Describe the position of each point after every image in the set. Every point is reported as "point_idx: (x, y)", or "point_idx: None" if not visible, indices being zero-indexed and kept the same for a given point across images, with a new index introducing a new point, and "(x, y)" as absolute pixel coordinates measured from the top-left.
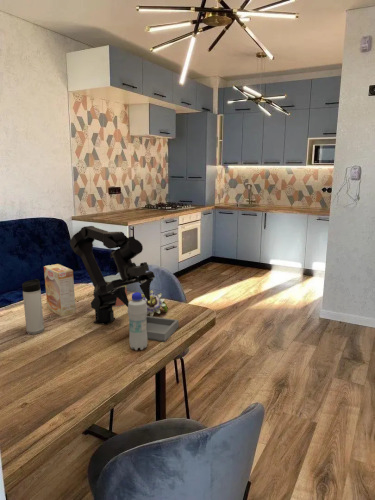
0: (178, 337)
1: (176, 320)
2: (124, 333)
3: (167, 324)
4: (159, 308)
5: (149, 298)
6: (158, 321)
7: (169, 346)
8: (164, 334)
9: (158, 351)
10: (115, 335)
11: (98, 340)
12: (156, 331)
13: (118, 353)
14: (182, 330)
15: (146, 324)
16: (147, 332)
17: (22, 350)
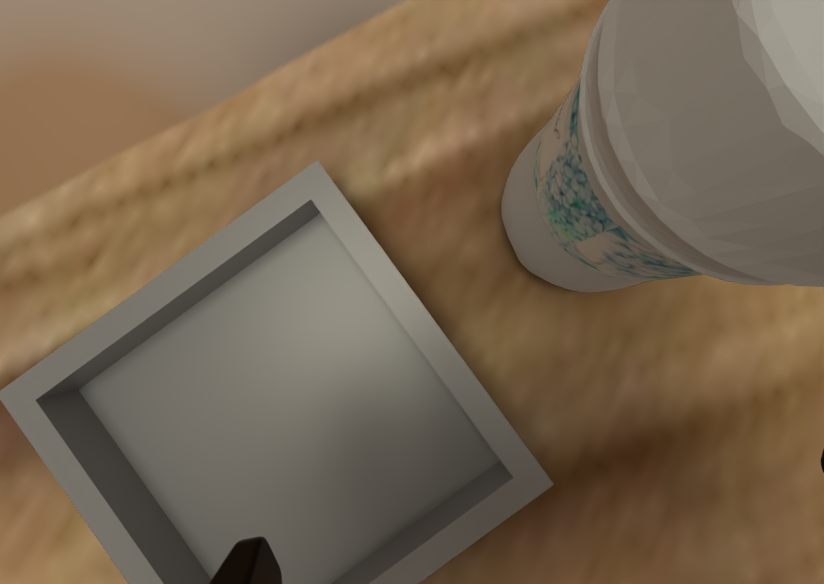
0: (183, 190)
1: (23, 393)
2: (546, 558)
3: (121, 459)
4: None
5: (236, 560)
6: (169, 549)
7: (344, 85)
8: (319, 164)
9: (467, 59)
10: (636, 567)
11: (810, 558)
12: (291, 392)
13: None
14: (67, 296)
15: (563, 101)
16: (430, 316)
17: None
